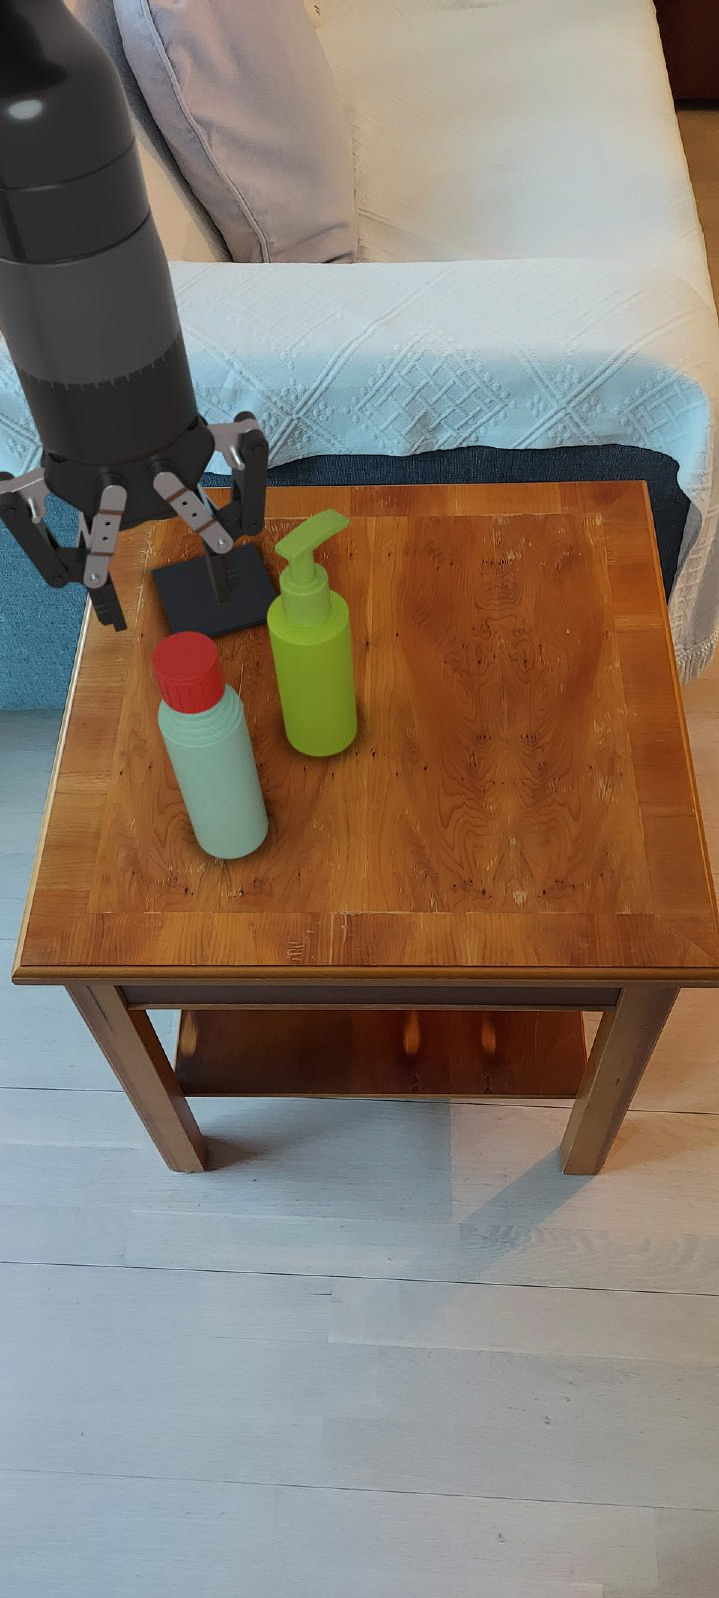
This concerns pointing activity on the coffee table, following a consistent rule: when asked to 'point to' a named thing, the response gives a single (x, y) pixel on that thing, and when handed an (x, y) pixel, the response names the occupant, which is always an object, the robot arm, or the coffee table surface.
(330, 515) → the soap dispenser
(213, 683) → the cap
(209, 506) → the robot arm
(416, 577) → the coffee table surface
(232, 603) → the mat
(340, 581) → the coffee table surface
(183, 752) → the bottle
